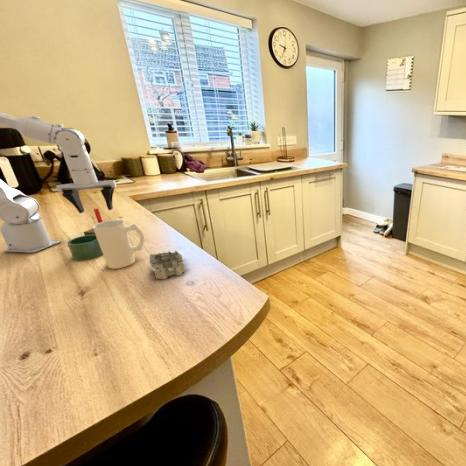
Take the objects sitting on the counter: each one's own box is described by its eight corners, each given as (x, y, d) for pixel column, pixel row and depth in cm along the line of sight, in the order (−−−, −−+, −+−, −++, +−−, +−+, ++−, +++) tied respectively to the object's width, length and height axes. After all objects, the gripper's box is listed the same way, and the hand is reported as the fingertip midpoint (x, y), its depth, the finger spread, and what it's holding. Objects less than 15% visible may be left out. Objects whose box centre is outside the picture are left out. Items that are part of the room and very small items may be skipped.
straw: (102, 237, 98) (92, 209, 94) (105, 236, 99) (95, 208, 96) (105, 237, 98) (96, 209, 94) (108, 236, 99) (99, 208, 95)
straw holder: (86, 240, 96) (83, 232, 95) (104, 232, 102) (102, 224, 101) (106, 241, 95) (103, 233, 94) (123, 233, 102) (120, 225, 101)
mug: (107, 271, 77) (92, 230, 73) (106, 262, 82) (92, 223, 77) (151, 261, 83) (140, 222, 79) (148, 253, 88) (137, 215, 83)
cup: (66, 259, 83) (60, 244, 81) (89, 248, 90) (84, 234, 88) (90, 261, 83) (84, 245, 81) (111, 250, 89) (106, 235, 88)
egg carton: (186, 274, 77) (183, 260, 75) (153, 282, 73) (149, 268, 71) (182, 258, 85) (179, 245, 83) (151, 265, 81) (148, 252, 79)
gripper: (113, 165, 96) (125, 204, 101) (57, 168, 90) (73, 210, 96) (107, 169, 90) (120, 210, 95) (46, 172, 84) (64, 216, 90)
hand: (96, 210), depth 95 cm, fingers open, 7 cm apart
